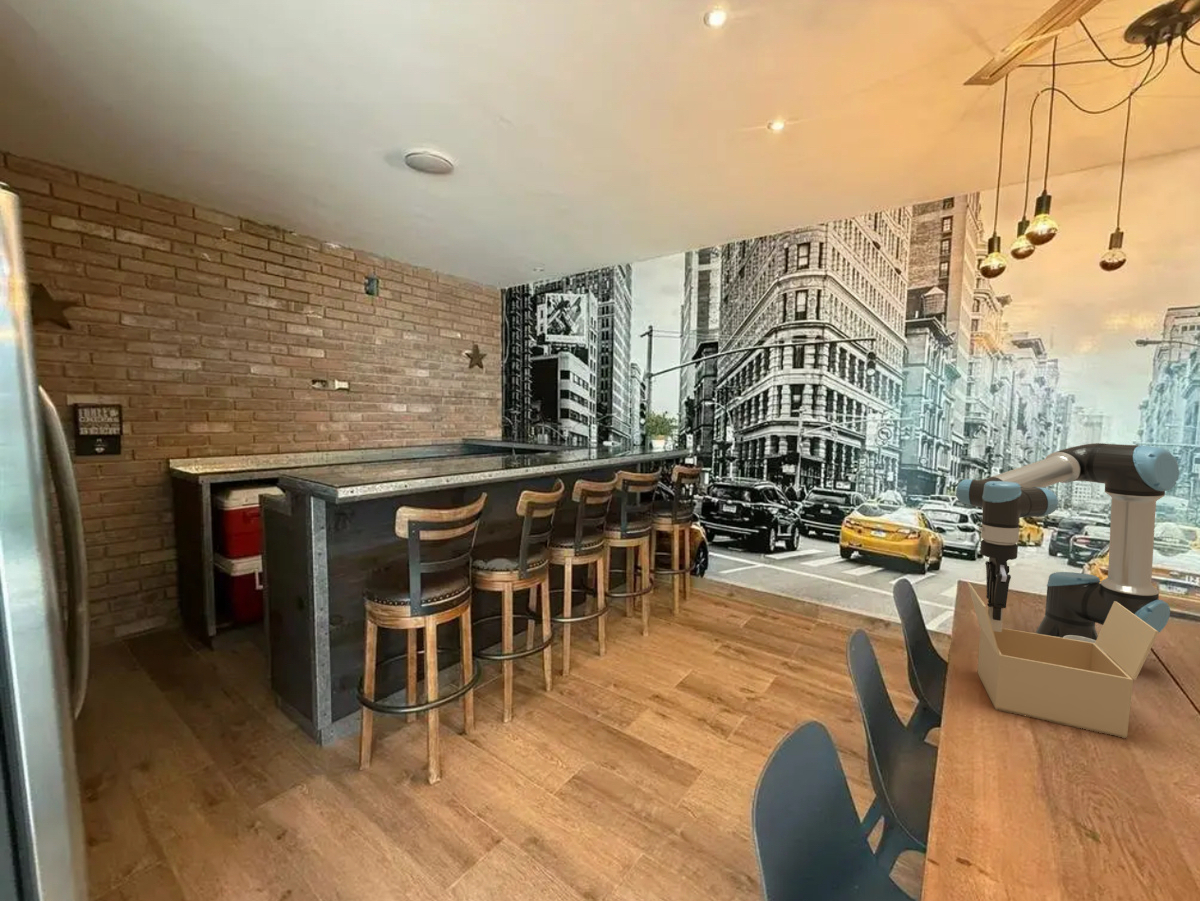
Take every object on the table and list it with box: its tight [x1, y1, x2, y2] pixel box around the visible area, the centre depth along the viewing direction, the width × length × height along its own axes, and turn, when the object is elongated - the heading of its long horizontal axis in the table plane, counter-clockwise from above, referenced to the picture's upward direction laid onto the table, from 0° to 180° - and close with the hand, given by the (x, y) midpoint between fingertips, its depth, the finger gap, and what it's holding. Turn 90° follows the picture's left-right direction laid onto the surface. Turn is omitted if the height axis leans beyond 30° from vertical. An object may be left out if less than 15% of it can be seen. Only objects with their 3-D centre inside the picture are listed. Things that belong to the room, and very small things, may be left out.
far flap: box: [967, 581, 999, 654], centre depth 133 cm, size 12×20×1 cm
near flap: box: [1095, 601, 1159, 680], centre depth 121 cm, size 12×20×1 cm
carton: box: [976, 627, 1134, 740], centre depth 128 cm, size 24×20×14 cm
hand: (994, 630), depth 132 cm, fingers closed
